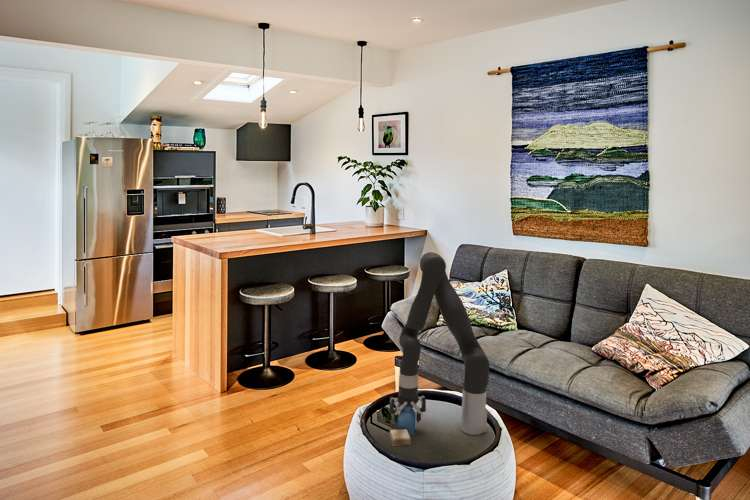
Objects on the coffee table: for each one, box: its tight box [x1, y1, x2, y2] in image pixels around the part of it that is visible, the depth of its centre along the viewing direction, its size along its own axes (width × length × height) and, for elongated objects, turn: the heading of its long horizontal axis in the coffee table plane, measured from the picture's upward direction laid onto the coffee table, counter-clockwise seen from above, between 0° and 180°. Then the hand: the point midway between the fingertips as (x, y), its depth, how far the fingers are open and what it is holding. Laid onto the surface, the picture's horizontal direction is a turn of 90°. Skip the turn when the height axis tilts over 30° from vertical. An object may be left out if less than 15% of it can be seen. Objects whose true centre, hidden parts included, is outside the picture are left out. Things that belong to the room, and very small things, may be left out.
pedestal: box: [388, 429, 412, 447], centre depth 208 cm, size 7×7×3 cm
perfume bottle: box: [397, 403, 417, 436], centre depth 215 cm, size 6×6×12 cm
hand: (407, 421), depth 215 cm, fingers open, 8 cm apart
